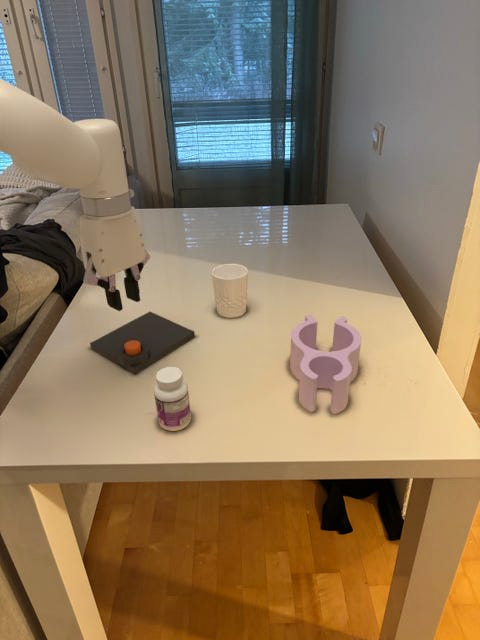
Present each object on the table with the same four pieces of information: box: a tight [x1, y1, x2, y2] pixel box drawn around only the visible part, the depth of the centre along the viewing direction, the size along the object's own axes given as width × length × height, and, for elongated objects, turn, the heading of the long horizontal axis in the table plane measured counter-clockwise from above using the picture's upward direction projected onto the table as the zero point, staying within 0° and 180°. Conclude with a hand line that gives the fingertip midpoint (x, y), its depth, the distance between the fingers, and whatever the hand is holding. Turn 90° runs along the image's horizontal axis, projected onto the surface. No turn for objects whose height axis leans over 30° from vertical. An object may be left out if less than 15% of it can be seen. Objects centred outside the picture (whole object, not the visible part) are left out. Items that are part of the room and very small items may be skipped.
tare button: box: [124, 340, 141, 355], centre depth 89 cm, size 3×3×2 cm
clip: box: [289, 314, 362, 415], centre depth 84 cm, size 20×12×7 cm, turn 171°
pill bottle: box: [153, 366, 192, 432], centre depth 74 cm, size 5×5×10 cm
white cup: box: [211, 263, 249, 319], centre depth 104 cm, size 8×8×10 cm
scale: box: [89, 311, 196, 375], centre depth 95 cm, size 16×14×3 cm
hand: (124, 303), depth 84 cm, fingers open, 3 cm apart
